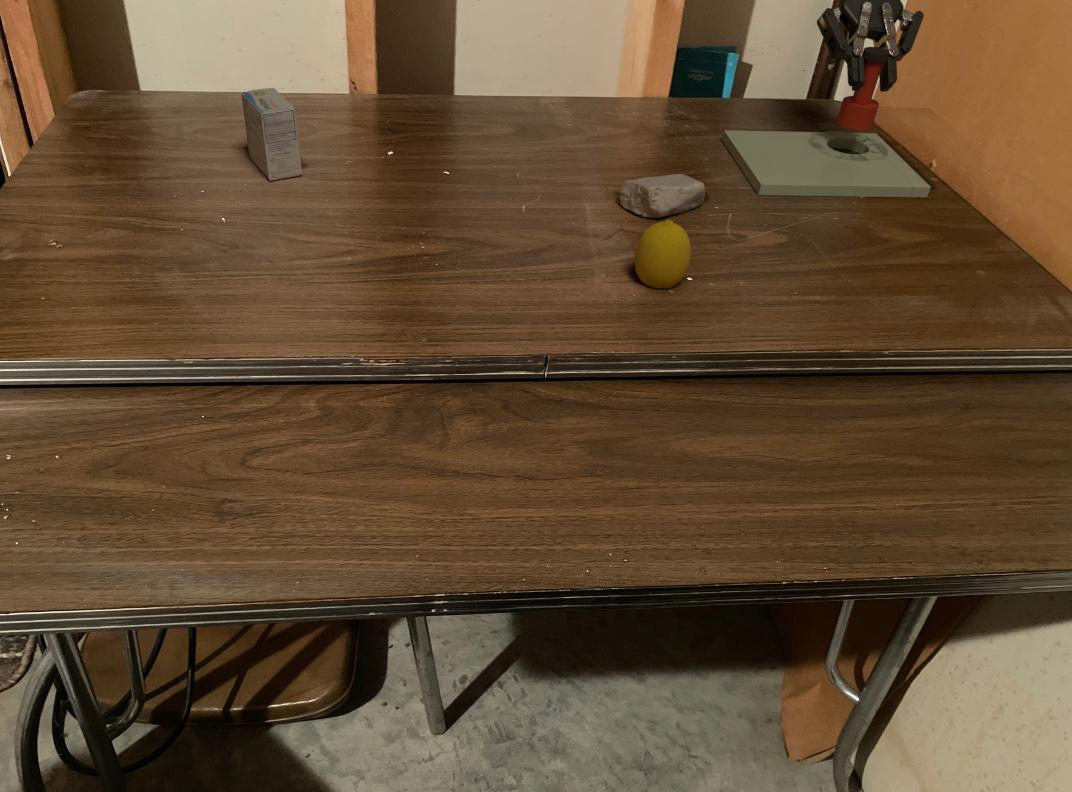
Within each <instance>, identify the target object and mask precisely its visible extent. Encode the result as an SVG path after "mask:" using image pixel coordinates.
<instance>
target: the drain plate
mask: <svg viewBox="0 0 1072 792" xmlns="http://www.w3.org/2000/svg"><path fill="white" fill-rule="evenodd" d="M721 141H722V143H723V144H724V146H725V148H726V149H727V150H728V152H729V153H730V155H731V157H732V158H733V159H734V161H735V162H736V164H737V166H738V167H739V168H740V170H741V171H742V173H743V174H744V176H745V177H746V179H747V181H748V182H749V184H750V185H751V186H752V188H753V189H754V191H755V192H756V194H757V196H779V197H781V196H783V197H789V196H790V197H844V198H845V197H846V198H847V197H852V198H853V197H854V198H856V197H857V198H910V199H911V198H912V199H913V198H917V197H918V198H917V199H921V198H922V199H923V198H924V199H927V198H928V195H929V194H930V190H931V188H932V187H931V185H930V184H928V182H927V181H925V179H924V178H923V177H921V176H920V174H918V172H916V171H915V169H913V168H912V167H911V166H910V165H909V164H908V162H906V161H905V160H904V158H902V157H901V156H900V155H899V154H898V153H897V152H896V151H895V150H894V149H893V148H892V147H891V146H890V145H889V144H888V143H886V141H885V140H884V139H883V138H882V137H880V135H878V133H876V132H875V133H874V132H845V131H783V130H781V131H780V130H779V131H777V130H775V131H774V130H730V129H729V130H728V129H725V130H723V134H722V139H721ZM835 149H836V150H835ZM837 149H839V150H840V149H841V150H847V151H852V152H855V154H853V153H852V154H851V153H846V152H841V151H838V150H837ZM856 153H858V154H856ZM919 197H920V198H919Z"/></svg>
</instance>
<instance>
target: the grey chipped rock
mask: <svg viewBox="0 0 1072 792" xmlns="http://www.w3.org/2000/svg"><path fill="white" fill-rule="evenodd" d="M705 189H706V188H705V184H704V182H702V181H700V180H697V179H695V178H693V177H690V176H688V175H686V174H684V173H677V174H675V173H674V174H673V173H672V174H668V175H665V174H664V175H661V176H644V177H643V178H642V177H640V178H637V179H636V178H635V179H625V180H624V181H623V184H622V187H621V189H620V190H619V202H620V203H619V204H620V206H621V207H622V208H624V209H626V210H628V211H630V212H632V213H634V214H636V215H637V216H641V217H643V218H651V219H660V218H664V217H669V216H674V215H677V214H681V213H686V212H687V211H689V210H693V209H696V208H698V207H700V206H701V205H702V204H703V203H704V200H705V197H706V195H705V194H706V193H705V192H706V190H705Z"/></svg>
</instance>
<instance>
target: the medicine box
mask: <svg viewBox="0 0 1072 792" xmlns="http://www.w3.org/2000/svg"><path fill="white" fill-rule="evenodd" d="M241 103H242V110H243V117H244V125H245V132H246V141H247V142H246V143H247V149H248V155H249V159H250V160H251V161H252V162H253V163H254V165H255V166H256V167H257V168H258V169H259V170H260V171H261V173H263V174H264V176H265V177H266V178H267V179H268V180H269V181H270V182H273V181H279V179H280V180H285V178H286V179H291V178H295V177H301V176H302V175H303V170H302V169H303V168H302V161H301V159H302V158H301V150H300V140H299V131H298V129H299V128H298V119H297V110H296V107H295V106H294V105H292V104H291V102H289V100H288V99H286V98H285V96H283V95H282V94H281V93H280V92H279V91H278V90H277V88H275V87H268V88H267V87H266V88H259V89H252V90H247V91H243V92H241ZM300 175H301V176H300Z"/></svg>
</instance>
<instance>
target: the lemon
mask: <svg viewBox="0 0 1072 792" xmlns="http://www.w3.org/2000/svg"><path fill="white" fill-rule="evenodd" d="M691 250H692V247H691V241H690V238H689V235H688V233H687V231H686V230H685V229H684V228H683V227H682V226H680V225H679V224H678V223H675V222H674V221H673V220H672V219H666V220H664V221H657V222H655V223H653V224H652V225H651V226H649V227H648V228H646V229H645V231H643V233H642V235H641V237H640V239H639V241H638V243H637V245H636V249H635V253H634V270H635V273H636V275H637V277H638V278H639V280H640V281H641V282H642V283H643V284H644V285H646V286H648V287H650V288H653V289H661V290H662V289H663V290H664V289H665V290H666V289H670V288H673V287H674V286H677V284H679V283H680V282H681V281H682V279H683V278H684V277H685V275H686V273H687V271H688V270H689V266H690V262H691V256H692V255H691V254H692V251H691Z"/></svg>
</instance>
